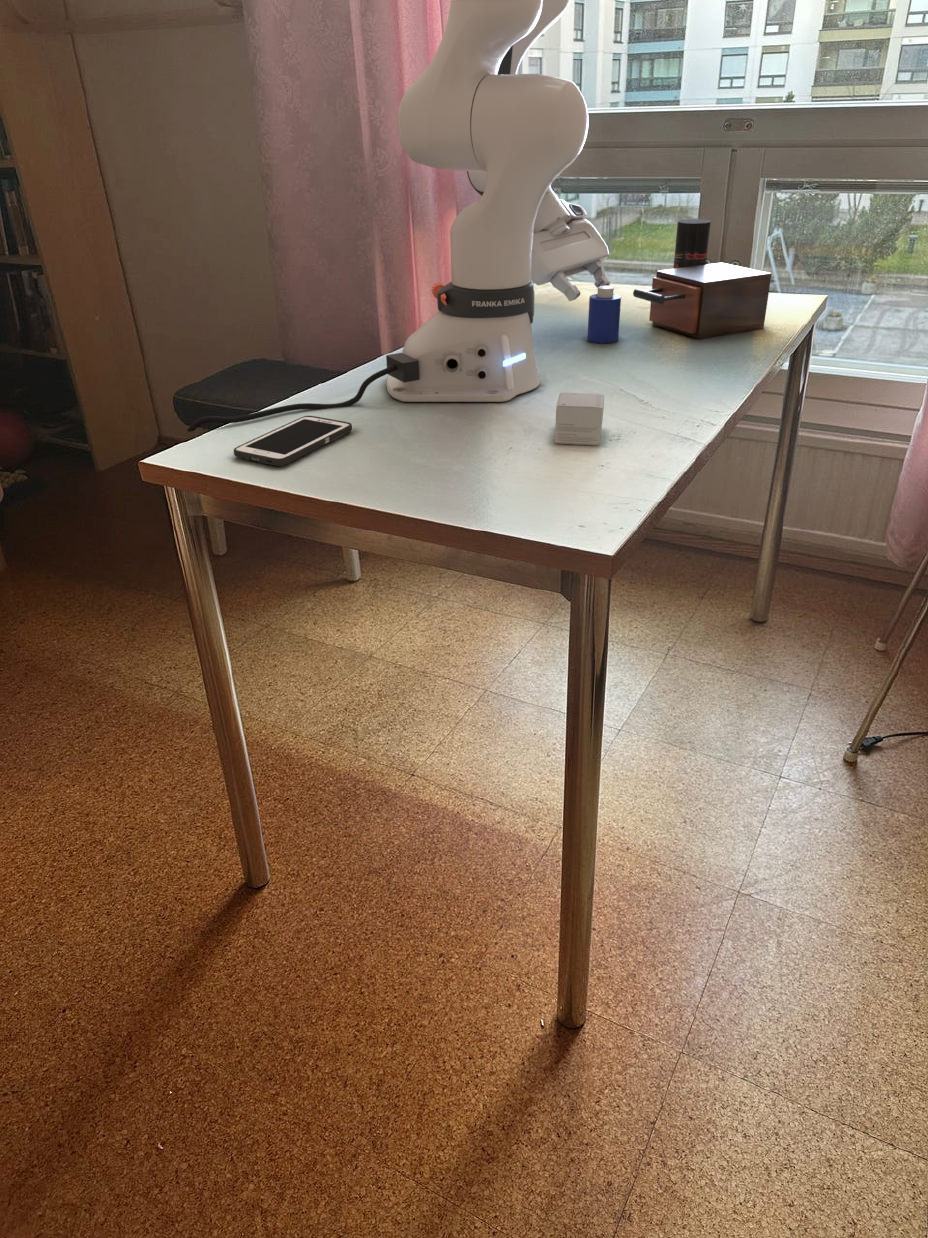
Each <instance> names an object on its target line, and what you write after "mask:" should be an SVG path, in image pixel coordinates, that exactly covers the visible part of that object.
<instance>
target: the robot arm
mask: <svg viewBox="0 0 928 1238" xmlns="http://www.w3.org/2000/svg"><path fill="white" fill-rule="evenodd" d="M571 2H572V0H450V4H449V5H450V6H449V12H448V17H447V21H446V25H445V28H444V32H443V34H442V37H441V40H440V42H439V45H438V47H437V49H436V50H435V51H436V52H435V54H434V55H433V57H432V59H431V61H430V62H429V64H428V65H427V67H426V68H425V70H424V71H423V72H422V74H421V75H420V76H419V78H418V79H416V80H415V81H414V82H413V83H412V84H411V85H410V86H409V87H408V88H407V90H405V93H403V96H402V97H401V100H400V103H399V105H398V110H397V122H396V125H397V134H398V137H399V141H400V143H401V146H402V148H403V150H404V152H405V153H406V155H407V156H408V158H409V159H410V160H411V161H413V162H415V163H416V164H420V165H423V166H427V167H430V168H432V169H433V168H434V169H437V170H442V171H452V172H466V174H467V179H468V181H469V184H470V185H471V187H472V188H473V189H474V190H475V192H476V193H478V194H479V195H480V196H481V197H480V199H478V200H476V201H474V202H473V203H470V204H469V205H468V206H467V207H465V208H463V209H462V210H461V211H460V212H459V213H458V214H457V215H456V217H455V218H454V220H453V221H452V225H451V227H450V231H449V235H450V236H449V239H450V271H451V272H450V273H451V275H450V276H451V281H450V282H448V283H447V284H445V285H444V283H442V282H440V281H437V282H434V283H433V285H432V286H431V294H432V295H433V297H434V298H435V299H436V302H437V309H438V311H437V312H436V313H435V314H434V315H433V316H431V317H430V318H429V319H428V320H427V321H425V323H423V324H422V325H421V326H420V327H419V328H417V329H416V330H415V331H413V333H412V334H410V335H409V336H408V337H407V338H406V340H405V342H404V345H403V348H402V350H401V351H402V352H398V353H391V354H386V355H385V359H386V368H383V369H381V370H378V371H377V372H375V373H373V374H372V375H370V376H368V377H367V378H366V379H365V380H364V381H363V382H362V383H361V385H360V386H359V389H358V391H357V393H356V394H355V395H354V397H352V398H350V399H348V400H345V401H343V402H339V403H313V402H311V403H309V402H308V403H293V404H287V405H282V406H277V407H273V408H269V409H265V410H261V411H257V412H252V413H247V414H244V415H237V416H218V415H217V416H216V415H207V416H203V417H200V418H198V419H195V421H193V422H192V423H191V424H190V425H189V426H188V428H187V430H186V432H189V433H190V432H194V431H195V430H196V429H197V428H199V427H200V426H202V425H203V424H207V423H208V424H209V423H218V424H219V423H221V424H236V423H242V422H247V421H253V420H257V419H260V418H265V417H270V416H272V415H277V414H282V413H286V412H292V411H298V410H329V409H338V408H346V407H352V406H353V405H355V404H357V403H358V402H360V400H361V399H362V397H363V396H364V394H365V391H366V389H367V388H368V386H369V385H371V384H372V383H373V382H375V381H376V380H378V379H379V378H382V377H384V376H386V375H387V378H386V390H387V392H388V394H389V396H391V397H392V398H393V399H396V400H397V401H400V402H403V403H404V402H405V403H406V402H408V403H411V402H412V403H416V402H417V403H420V402H421V403H429V402H430V403H435V402H436V403H440V402H441V403H454V402H455V403H457V402H459V403H460V402H461V403H463V402H464V403H465V402H466V403H469V402H470V403H471V402H472V403H473V402H474V403H478V402H479V403H483V402H484V403H487V402H489V403H491V402H494V403H495V402H497V403H499V402H500V403H502V402H508V401H510V400H513V398H515V397H516V396H518V395H521V394H524V393H527V392H530V391H533V390H535V389H536V388H537V387H539V386H540V385H541V378H540V374H539V371H538V367H537V362H536V355H535V349H534V341H533V340H534V339H533V329H532V328H533V327H532V324H533V323H534V316H535V289H534V288H535V287H534V285H537V286H542V285H545V284H548V283H550V284H551V285H552V287H553V288H555V289H556V290H558V291H559V292H560V293H562V294H564V296H565V297H566V299H567V300H568V302H573V301H575V300H577V299H578V298H579V297H580V296H581V290H580V289H579V288H578V286H577V285H576V284H572V283H571V282H570V281H569V280H568V279H566V278H568V277H572V276H575V275H577V274H582V273H584V272H588V273H589V274H590V275H591V276H593V278H594V281H595V282H594V283H593V285H594V287H596V288H597V289H598V287H599V286H611V281H610V280H609V279H608V277H607V276H606V271H605V267H604V265H603V263H604V262H605V261H606V260H607V259H608V258H609V257H610V252H609V247H608V245H607V243H606V242H605V240H604V239H603V238H602V236H601V234H600V233H599V231H598V230H597V229H596V227H595V226H594V224H592V223H591V221H589V220H588V219H586V218H587V212H586V210H585V208H583V206H581V205H579V204H575V203H571V202H567V201H566V200H564V199H562V198H560V199H559V197H558V196H557V194H556V192H554V191H553V189H552V183H554V181H555V180H556V179H557V178H559V177H560V176H562V174H563V173H564V172H565V171H566V170H567V168H568V167H569V166H571V165H572V164H573V163H574V162H575V160H576V159H577V158H578V156H579V155H580V153H581V152H582V150H583V148H584V145H585V143H586V141H587V140H586V139H587V136H588V131H589V111H588V106H587V103H586V100H585V98H584V95H583V94H582V92H581V90H580V88H579V87H578V86H577V85H576V83H575V82H573V80H568V79H564V78H560V77H556V76H551V75H546V74H542V73H518V71H519V67H520V64H521V63H522V60H523V58H524V57H525V55H526V53H527V51H528V50H529V49H530V48H531V47H532V46H533V44H534V43H535V42H536V41H537V40H538V39H539V38H540V36H542V35H543V34H544V33H545V32H546V31H547V30H548V29H549V28H550V27H552V26H553V25H554V24H555V23H556V22H557V21H558V20H559V19H560V18H561V17H562V15H563V14H564V12H565V11H566V10H567V8H568V6H569V5H570V3H571Z"/></svg>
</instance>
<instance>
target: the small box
mask: <svg viewBox="0 0 928 1238" xmlns="http://www.w3.org/2000/svg"><path fill="white" fill-rule="evenodd" d="M604 406H605V394H604V393H597V392H596V393H595V392H593V393H592V392H571V391H570V392H569V391H568V392H567V391H561V392H559V395H558V398H557V403H556V408H555V424H554V425H555V427H554V443H555V444H557V445H558V444H559V445H560V444H561V445H579V446H600V445H601V436H602V429H603V419H604V409H605V407H604Z"/></svg>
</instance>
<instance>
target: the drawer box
mask: <svg viewBox="0 0 928 1238" xmlns="http://www.w3.org/2000/svg"><path fill="white" fill-rule="evenodd" d="M655 277H661V278H665V279H667V278H668V279H672V280H676V281H680V282H684V283H688V284H692V285H696V286H700V287H701V295H700V304H699V313H698V323H697V332H696V333H692V334H690V333H687V332H684V331H681V330H678V329H675V328H671V327H668V326H665V325H662V324H659V323H656V322H652V321H651V323H652V325H654V326H657V327H659V328H663V329H666V330H669V331H672V332H675V333H679V334H682V335H684V336H687V337H691V338H695V339H697V340H700V339H706V338H712V337H717V336H724V335H730V334H736V333H741V332H747V331H753V330H760V329H764V328H765V321H766V314H767V308H768V302H769V295H770V289H771V288H770V287H771V281H772V280H771V279H772V273H771V272H768V271H764V270H763V271H762V270H759V269H754V268H749V267H744V266H739V265H735V264H730V263H725V262H715V263H706V265H698V266H691V267H683V268H675V269H673V268H668V269H660V270H656V276H655Z"/></svg>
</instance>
